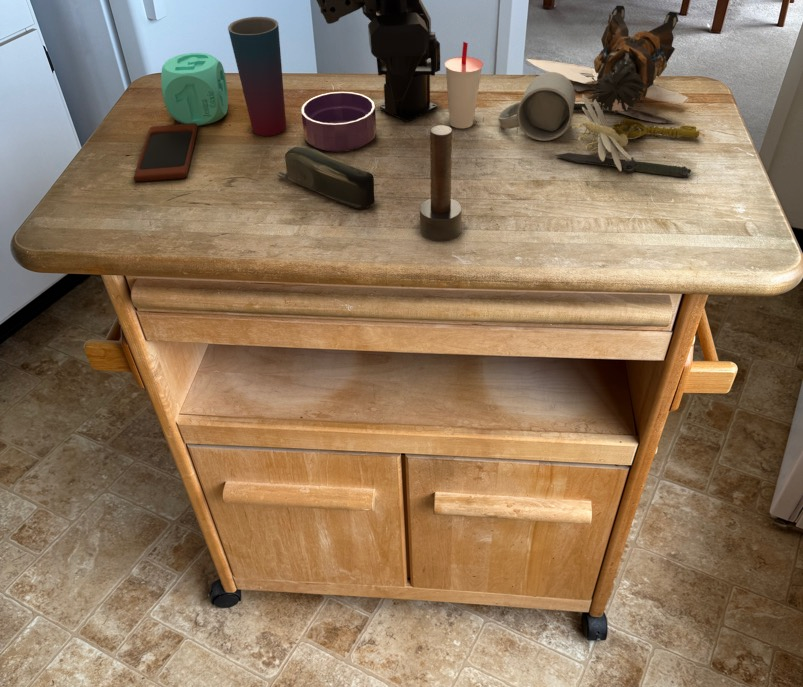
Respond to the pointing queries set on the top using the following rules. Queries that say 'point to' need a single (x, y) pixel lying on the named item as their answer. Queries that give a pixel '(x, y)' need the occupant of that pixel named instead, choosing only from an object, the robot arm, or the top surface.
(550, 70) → the knife
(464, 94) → the cup
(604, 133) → the toy
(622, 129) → the key
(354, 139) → the bowl
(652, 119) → the knife
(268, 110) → the cup
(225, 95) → the decorative dice
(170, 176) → the smartphone
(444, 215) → the brown handled tamper
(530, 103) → the ceramic mug
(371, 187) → the dark green rounded bar
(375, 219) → the top surface
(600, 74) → the figurine
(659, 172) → the knife
